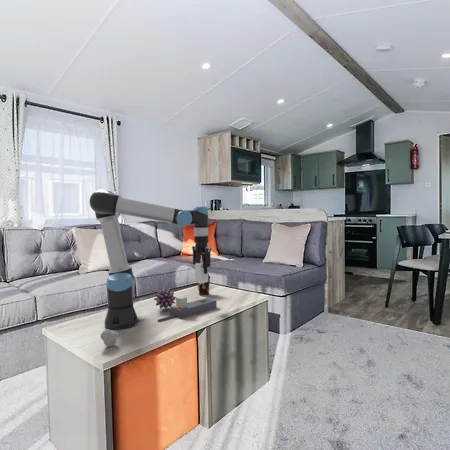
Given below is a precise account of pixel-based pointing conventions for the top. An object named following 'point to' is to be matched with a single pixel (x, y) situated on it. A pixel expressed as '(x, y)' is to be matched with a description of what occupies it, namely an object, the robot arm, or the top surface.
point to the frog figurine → (109, 337)
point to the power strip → (192, 308)
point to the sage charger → (181, 302)
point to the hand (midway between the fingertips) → (201, 278)
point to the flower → (165, 298)
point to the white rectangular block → (199, 273)
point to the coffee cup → (204, 288)
